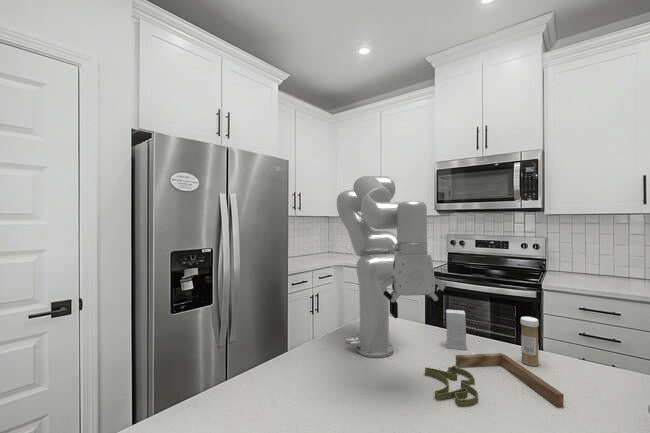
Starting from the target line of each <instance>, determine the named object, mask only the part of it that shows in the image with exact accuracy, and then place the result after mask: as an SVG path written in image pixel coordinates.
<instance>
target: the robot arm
mask: <svg viewBox="0 0 650 433" xmlns="http://www.w3.org/2000/svg"><path fill="white" fill-rule="evenodd" d="M352 187H353V188H352V189H350V190H349V189H348V190H343V191H341V192H340V193H339V194H338V195H337V197H336V198H337V199H336V209H337V214H338V217H339V218H340V221H341V222H342V224H343V225H344V227H345V228H346V230H347V234H348V236H349V239H350V242H351V245H352V248H353V250H354V253H355V254H356V256H358V257H359V259H358V260H357V262H356V264H355V266H356V274H357V280H358V281H357V282H358V288H359V290H358V291H359V333H357V336H355V337H346V338H345V343H346V345H350V346H351V347H354V346H355V348H354V349H355V352H357V353H358V354H359V355H362V356H364V357H369V358H385V357H389V356H391V355H393V353H394V352H395V349H394V348H395V347H394V345H393V344H392V343H390V326H389V325H390V318H389V317H390V315H391V316H392V317H393V318H394V319H398V318H399V306H398V305H399V304H398V302H397V300H398V298H400V296H405V297H407V296H428V298H427V301H426V307H427V308H426V309H427V312H426V313H427V314H428V315H429V316H430V317H432V318H434V317H436V313H437V301H439V298H440V297H441V296H442V295H443V292H444V290H445V288H446V285H447V283H446V282H445V281H443V280H441V279H439V278H437V277H435V271H434V263H433V259H432V256H431V255H432V254H428V209H427V205H426V203H425V202H424V201H409V200H408V201H402V202H401V201H400V202H399V201H398V202H397V201H396V202H395V201H393V202H391V201H392V199H393V198H394V197H395V194H396V184H395V181H394V180H393V179H392V178H391V177H389V176H383V175H363V176H359V177H358V178H357V179H356V180H355V181H354V182H353V185H352ZM360 213H361V214H360ZM373 229H375V230H373ZM389 230H396V235H395V234H394V233H393V232H392V231H389ZM436 284H437V288H436ZM389 286H391V288H392V291H391V292H389V290H388V289H387V287H389ZM389 313H390V314H389Z"/></svg>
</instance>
